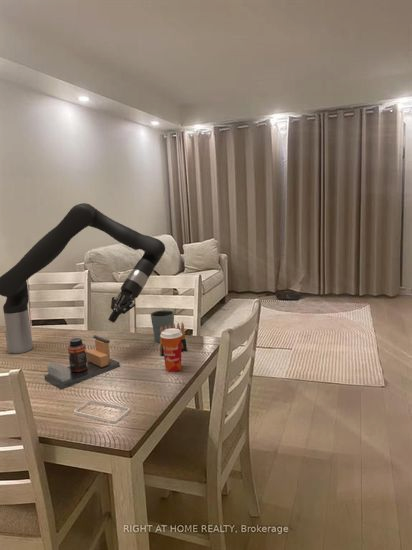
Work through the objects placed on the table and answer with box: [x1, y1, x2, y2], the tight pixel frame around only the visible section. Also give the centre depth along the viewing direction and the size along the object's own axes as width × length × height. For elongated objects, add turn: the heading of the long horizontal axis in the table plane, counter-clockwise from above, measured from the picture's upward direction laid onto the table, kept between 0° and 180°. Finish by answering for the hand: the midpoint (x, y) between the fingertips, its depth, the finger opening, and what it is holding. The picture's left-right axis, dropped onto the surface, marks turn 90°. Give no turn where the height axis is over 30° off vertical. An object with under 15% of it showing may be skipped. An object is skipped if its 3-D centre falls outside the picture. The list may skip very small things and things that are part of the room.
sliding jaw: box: [86, 335, 111, 367], centre depth 147 cm, size 5×10×9 cm, turn 47°
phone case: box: [73, 399, 131, 424], centre depth 115 cm, size 7×1×15 cm
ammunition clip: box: [159, 321, 188, 358], centre depth 157 cm, size 11×2×12 cm, turn 116°
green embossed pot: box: [150, 309, 175, 344], centre depth 173 cm, size 10×10×12 cm
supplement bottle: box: [67, 337, 88, 372], centre depth 141 cm, size 6×6×11 cm
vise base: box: [44, 358, 121, 390], centre depth 143 cm, size 23×12×6 cm, turn 137°
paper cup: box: [160, 327, 182, 373], centre depth 142 cm, size 8×8×14 cm
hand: (111, 321), depth 150 cm, fingers closed
